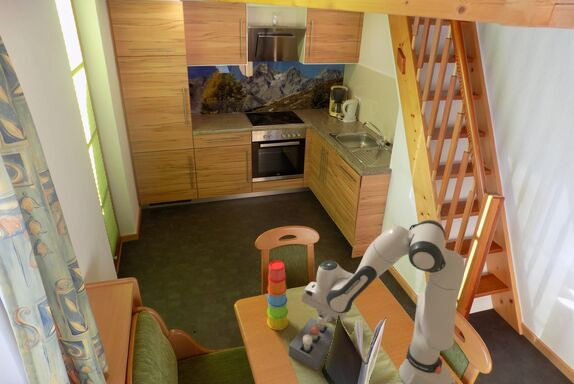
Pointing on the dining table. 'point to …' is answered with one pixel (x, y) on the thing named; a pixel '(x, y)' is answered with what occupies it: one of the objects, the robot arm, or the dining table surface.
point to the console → (312, 345)
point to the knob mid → (314, 332)
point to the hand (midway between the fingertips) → (322, 317)
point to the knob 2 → (321, 323)
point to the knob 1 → (307, 342)
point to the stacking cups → (277, 296)
